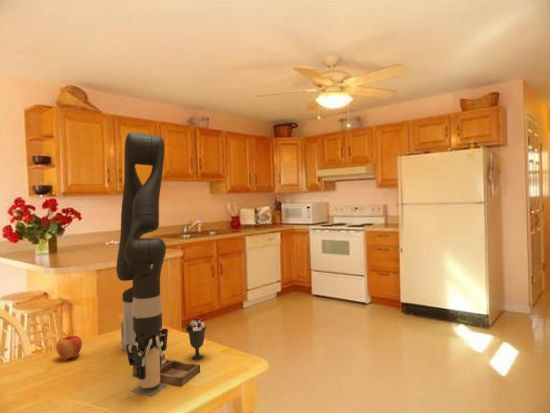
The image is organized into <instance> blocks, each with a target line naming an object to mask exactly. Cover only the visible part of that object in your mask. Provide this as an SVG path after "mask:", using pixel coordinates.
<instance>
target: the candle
mask: <svg viewBox="0 0 550 413" xmlns="http://www.w3.org/2000/svg"><path fill="white" fill-rule="evenodd" d="M140 352H141V353H144V352H145V351H140ZM141 358H142V356H140V360H139V361H141ZM144 365H145V376H146V378H145V379H143V380H141V379H138V384H139V385H138V386H140V387H142V388H151V387H154V386H157V385H158V384H159V383H161V382H160V351H159V349H157V348H155V347H154V348H152V349H150V350H149V354H148V356H147V357H146V360H145V364H144Z"/></svg>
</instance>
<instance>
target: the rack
mask: <svg viewBox="0 0 550 413" xmlns="http://www.w3.org/2000/svg"><path fill="white" fill-rule="evenodd" d="M165 360H167V364H166V365H164V366H163V367H161V368H160V383H161V384H166V385H172V386H177V387H183V386H184V385H186V384H187V383H188V382H189V381H190V380H192V379H193V378H195V377H196V376H197V375H198V374H199V373H200V372H201V365H200V364H197V363H192V362H186V361H180V360H175V359H169V358H165ZM132 377H136V378H137V376H136V366H132Z"/></svg>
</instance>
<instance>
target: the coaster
mask: <svg viewBox="0 0 550 413" xmlns="http://www.w3.org/2000/svg"><path fill="white" fill-rule="evenodd" d="M167 386H168V384H167V383H162V382H160V383H159V384H158V385H157V386H154V387H151V388H142V387H140V386H139V385H138V386H137V387H135V388H134V389H132V390H131V391H130V392H131V393H136V394H138V395H139V394H140V395H144V396H148V397H154V396H156V395H157V394H158V393H159V392H161V391H163V389H165V388H166V387H167Z"/></svg>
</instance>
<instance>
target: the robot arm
mask: <svg viewBox="0 0 550 413" xmlns="http://www.w3.org/2000/svg"><path fill="white" fill-rule="evenodd" d="M123 156H124V159H123V160H124V166H123V167H124V168H123V169H124V172H123V173H124V176H123V178H124V181H123V193H122V201H121V211H120V212H121V214H120V239H119V246H118V252H117V260H116V267H115V268H116V270H115V271H116V276H117V278H118V280H120V281H122V282H128V281H129V282H130V281H132V287H129V288H127V289H126V290H124V291H123V292H122V297H121V298H122V320H123V321H121V323H120V332H121V334H120V335H121V350H123V351H124V352H126V354H127V359H128V360H127V361H128V365H129V366H131V367H133V366H136V376H137V377H136V378H137V379H138V380H139V379H141V380H143V379H145V378H146V376H145V365H144V364H145V360H146V357H147V356H148V354H149V350H150V349H152V348H154V347H155V348H157V349H159V351H160V368H161V355H162V354H163V352H164V351H167V346H168V335H169V334H168V333H169V330H168V328H164V327H163V308H162V307H163V305H162V302H163V301H162V298H161V296H162V295H161V273H162V267H163V264H164V260H165V256H166V251H167V246H166V243H165V241H164V240H163V239H162V238H160V237H148V238H147V237H145V238H142V236H144V235H145V234H148V233H151V232H152V233H153V232H155V231H157V230H158V229H159V226H160V193H161V186H162V181H163V180H162V179H163V171H164V170H163V169H164V163H165V162H164V161H165V160H164V159H165V141H164V139H163V137H161V136H160V135H156V134H150V133H140V132H128V134H127V135H126V137H125V141H124V154H123ZM137 165H140V166H152V167H151V172H150V175H149V176H148V178H147V179H146V180H145V182H144V183H142V182H141V179H140V177H139V175H138V172H137V169H136V166H137ZM140 351H145V352H144V353H141V352H140ZM140 356H142V358H141V361H139V360H140Z"/></svg>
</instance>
